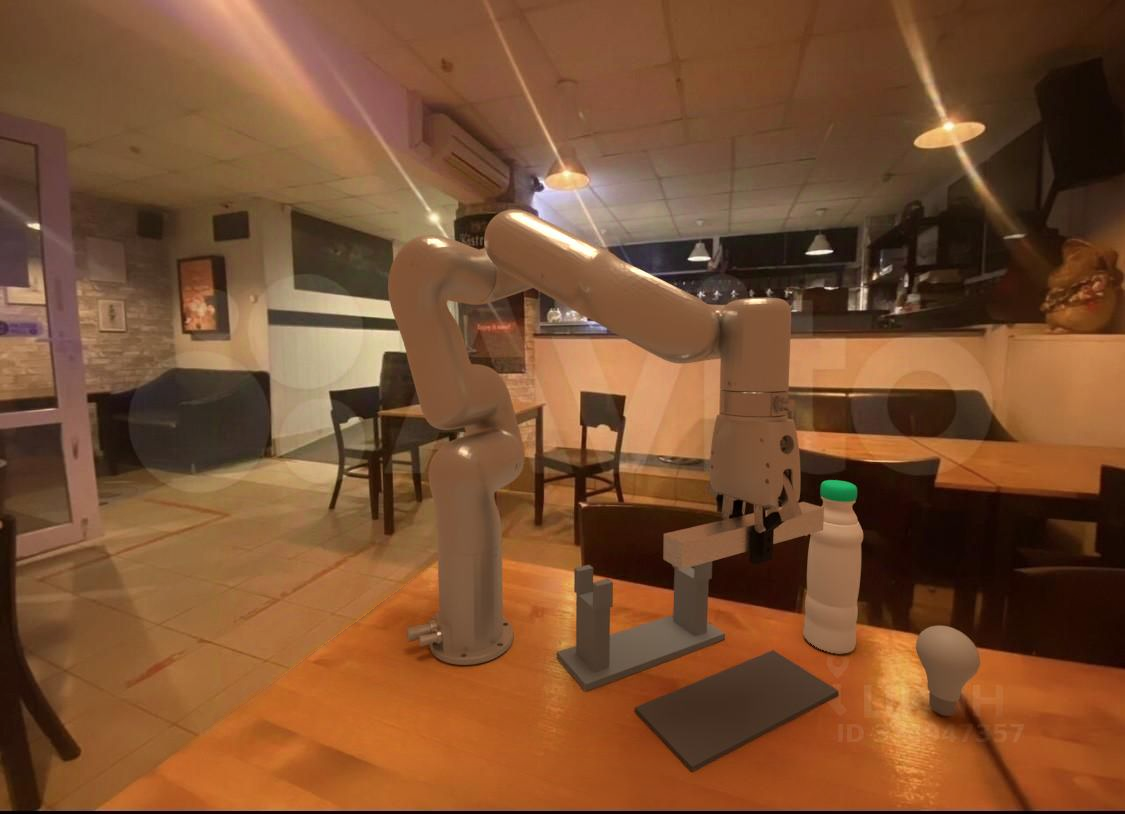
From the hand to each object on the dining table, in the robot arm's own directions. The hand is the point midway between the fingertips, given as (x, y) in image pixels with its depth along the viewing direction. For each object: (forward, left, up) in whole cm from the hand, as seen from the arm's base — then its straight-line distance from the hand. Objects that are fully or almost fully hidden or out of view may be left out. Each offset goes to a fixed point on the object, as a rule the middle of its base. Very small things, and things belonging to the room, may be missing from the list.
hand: (748, 554), depth 60 cm
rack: (-4, +15, -20) cm, 25 cm away
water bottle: (+22, +3, -20) cm, 30 cm away
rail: (0, 0, +1) cm, 1 cm away
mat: (0, 0, -20) cm, 20 cm away
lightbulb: (+20, -13, -20) cm, 31 cm away
